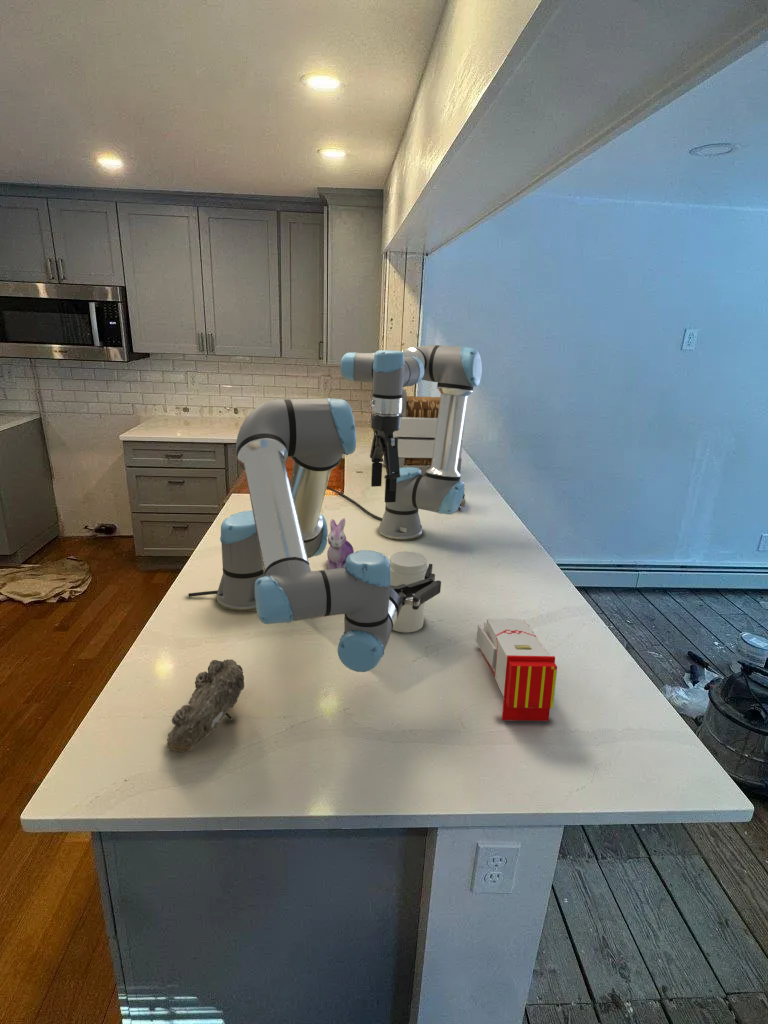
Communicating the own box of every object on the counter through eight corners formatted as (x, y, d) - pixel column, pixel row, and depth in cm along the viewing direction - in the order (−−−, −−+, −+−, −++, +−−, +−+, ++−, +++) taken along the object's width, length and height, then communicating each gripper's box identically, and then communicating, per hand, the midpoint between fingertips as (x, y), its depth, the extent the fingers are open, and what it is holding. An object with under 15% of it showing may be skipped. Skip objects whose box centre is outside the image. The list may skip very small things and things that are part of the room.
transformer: (382, 463, 289) (386, 382, 275) (445, 464, 293) (451, 384, 279) (390, 482, 257) (394, 392, 243) (460, 483, 261) (468, 394, 247)
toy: (523, 604, 135) (566, 662, 106) (518, 656, 138) (559, 727, 109) (472, 603, 135) (501, 661, 105) (468, 655, 138) (496, 726, 108)
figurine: (332, 575, 167) (332, 527, 162) (319, 561, 175) (319, 516, 170) (361, 569, 171) (362, 523, 166) (347, 556, 179) (348, 512, 174)
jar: (403, 636, 137) (407, 570, 131) (377, 620, 144) (380, 556, 138) (431, 624, 143) (436, 560, 137) (405, 609, 150) (409, 547, 144)
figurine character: (465, 515, 224) (460, 499, 237) (467, 498, 221) (462, 483, 234) (448, 515, 224) (444, 499, 237) (450, 498, 220) (445, 482, 234)
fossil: (192, 660, 117) (244, 628, 112) (224, 691, 120) (276, 661, 115) (142, 746, 98) (202, 712, 93) (182, 779, 101) (242, 748, 96)
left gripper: (315, 618, 111) (346, 572, 131) (442, 639, 106) (454, 588, 126) (316, 584, 108) (347, 542, 128) (445, 603, 104) (457, 557, 123)
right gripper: (360, 405, 154) (358, 480, 161) (385, 423, 131) (381, 510, 138) (387, 405, 156) (383, 479, 163) (416, 423, 133) (410, 508, 140)
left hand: (400, 565), depth 127 cm, fingers open, 13 cm apart
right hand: (382, 493), depth 151 cm, fingers open, 13 cm apart
